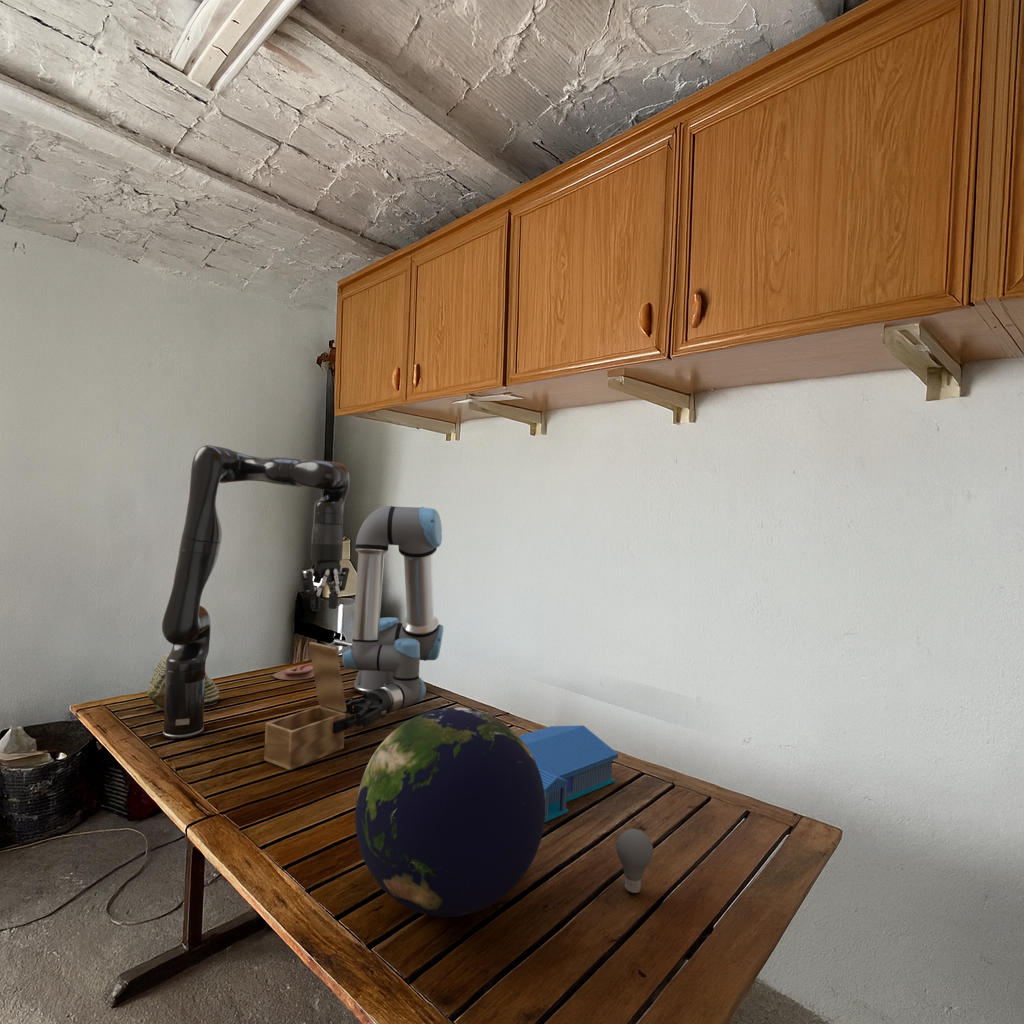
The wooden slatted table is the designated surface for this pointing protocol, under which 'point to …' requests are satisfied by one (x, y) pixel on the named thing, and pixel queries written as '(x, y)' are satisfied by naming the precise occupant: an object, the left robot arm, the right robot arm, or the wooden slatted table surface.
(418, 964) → the wooden slatted table surface
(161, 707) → the fossil
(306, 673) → the anatomical model
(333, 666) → the lid
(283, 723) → the chest
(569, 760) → the model building
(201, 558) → the left robot arm
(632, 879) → the light bulb
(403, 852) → the globe
